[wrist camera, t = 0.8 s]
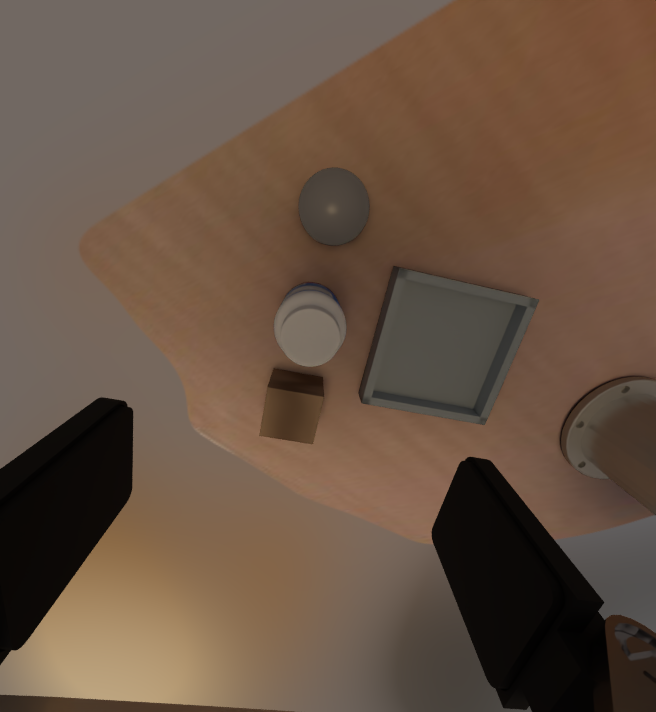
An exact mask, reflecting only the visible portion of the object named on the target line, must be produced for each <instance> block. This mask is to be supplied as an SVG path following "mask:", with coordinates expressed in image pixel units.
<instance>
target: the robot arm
mask: <svg viewBox="0 0 656 712" xmlns="http://www.w3.org/2000/svg"><path fill="white" fill-rule="evenodd" d="M561 447H562V451H563V454H564V456H565V458H566V459H567V461H568V462H569V463H570V464H571V465H572V466H573V467H574V468H575V469H576V470H578V471H579V472H581V473H582V474H584V475H586V476H589V477H592V478H598V479H611V480H612V481H614V482H615V483H616V484H617V485H619V486H620V487H621V488H622V489H624V490H625V491H626V492H627V493H629V494H630V495H631V496H632V497H634V498H635V499H636V500H637V501H639V502H640V503H641V504H642V505H643V506H645V507H646V508H647V509H648V510H650V511H651V512H652V513H653V514H655V515H656V380H655V379H652V378H647V377H627V378H621V379H618V380H615V381H612V382H609V383H607V384H605V385H603V386H601V387H599V388H597V389H596V390H594V391H593V392H591V393H590V394H588V395H587V396H586V397H585V398H584V399H583V400H581V401H580V402H579V403H578V404H577V406H576V407H575V408H574V409H573V411H572V412H571V413H570V415H569V417H568V419H567V420H566V422H565V425H564V428H563V431H562V437H561ZM132 464H133V410H132V408H130V407H127V403H126V402H125V401H121V400H115V399H109V398H98V399H96V400H95V401H94V402H92V403H91V404H90V405H88V406H87V407H85V408H84V409H83V410H81V411H80V412H79V413H77V414H76V415H74V416H73V417H72V418H70V419H69V420H67V421H66V422H65V423H64V424H62V425H61V426H59V427H58V428H57V429H55V430H54V431H52V432H51V433H50V434H48V435H47V436H45V437H44V438H43V439H41V440H40V441H38V442H37V443H36V444H34V445H33V446H32V447H30V448H29V449H27V450H26V451H25V452H23V453H22V454H21V455H19V456H18V457H17V458H15V459H14V460H12V461H11V462H10V463H8V464H7V465H5V466H4V467H3V468H1V469H0V665H1V663H2V662H3V661H4V659H5V658H6V657H7V655H8V654H9V652H10V651H11V650H18V649H19V648H21V647H22V646H23V645H24V643H25V642H26V641H27V640H28V638H29V637H30V636H31V634H32V633H33V632H34V630H35V629H36V628H37V626H38V625H39V623H40V622H41V621H42V619H43V618H44V616H45V615H46V614H47V612H48V611H49V609H50V608H51V607H52V605H53V604H54V603H55V601H56V600H57V598H58V597H59V596H60V594H61V593H62V591H63V590H64V589H65V587H66V586H67V585H68V583H69V582H70V580H71V579H72V578H73V576H74V575H75V573H76V572H77V571H78V569H79V568H80V566H81V565H82V564H83V562H84V561H85V559H86V558H87V556H88V555H89V554H90V553H91V551H92V550H93V548H94V547H95V546H96V544H97V543H98V541H99V540H100V539H101V537H102V536H103V535H104V533H105V532H106V530H107V529H108V528H109V526H110V525H111V523H112V522H113V521H114V519H115V518H116V516H117V515H118V513H119V512H120V511H121V509H122V508H123V507H124V505H125V504H126V503H127V501H128V499H129V497H130V494H131V491H132V467H133V465H132ZM432 540H433V543H434V546H435V548H436V550H437V554H438V556H439V559H440V561H441V563H442V566H443V569H444V571H445V574H446V576H447V579H448V581H449V584H450V587H451V589H452V591H453V594H454V597H455V599H456V602H457V604H458V607H459V610H460V612H461V615H462V617H463V620H464V622H465V625H466V627H467V630H468V632H469V635H470V637H471V640H472V643H473V645H474V647H475V650H476V653H477V655H478V658H479V660H480V663H481V665H482V668H483V670H484V673H485V676H486V678H487V680H488V682H489V683H490V685H491V686H492V687H494V688H496V691H497V693H498V696H499V698H500V701H501V703H502V706H503V708H510V709H523V710H526V709H527V708H528V707H529V706H530V708H531V710H532V712H656V633H654V632H653V631H652V630H650V629H649V628H647V627H646V626H644V625H642V624H641V623H639V622H637V621H635V620H633V619H631V618H628V617H625V616H622V615H611V616H609V617H608V618H607V619H606V620H604V619H603V618H602V616H601V615H600V614H599V612H598V611H599V609H600V608H601V606H602V605H603V604H604V601H603V600H602V599H601V598H600V596H599V595H598V594H597V593H596V592H595V590H594V589H593V588H592V586H591V585H590V584H589V583H588V581H587V580H586V579H585V578H584V577H583V575H582V574H581V573H580V572H579V570H578V569H577V568H576V567H575V565H574V564H573V563H572V562H571V560H570V559H569V558H568V557H567V555H566V554H565V553H564V552H563V550H562V549H561V548H560V547H559V545H558V544H557V543H556V542H555V540H554V539H553V538H552V537H551V535H550V534H549V533H548V532H547V530H546V529H545V528H544V527H543V525H542V524H541V523H540V522H539V520H538V519H537V518H536V517H535V515H534V514H533V513H532V512H531V510H530V509H529V508H528V507H527V505H526V504H525V503H524V502H523V500H522V499H521V498H520V497H519V495H518V494H517V493H516V492H515V490H514V489H513V488H512V487H511V485H510V484H509V483H508V482H507V480H506V479H505V478H504V477H503V475H502V474H501V473H500V472H499V470H498V469H497V468H496V467H495V465H494V464H493V463H492V462H491V461H490V460H487V459H481V458H475V457H468V458H467V459H466V460H465V461H462V462H460V464H459V466H458V468H457V471H456V473H455V475H454V478H453V480H452V483H451V485H450V487H449V490H448V492H447V494H446V497H445V499H444V502H443V504H442V506H441V509H440V511H439V513H438V516H437V518H436V521H435V523H434V525H433V528H432ZM0 712H292V711H277V710H261V709H246V708H231V707H230V708H229V707H214V706H198V705H197V706H196V705H181V704H165V703H148V702H130V701H114V700H96V699H79V698H63V697H42V696H15V695H0Z"/></svg>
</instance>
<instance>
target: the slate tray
mask: <svg viewBox="0 0 656 712" xmlns="http://www.w3.org/2000/svg"><path fill="white" fill-rule="evenodd" d="M538 302H539V300H538V299H534V298H530V297H527V296H523V295H518V294H514V293H510V292H505V291H501V290H496V289H492V288H488V287H483V286H479V285H475V284H470V283H466V282H461V281H457V280H453V279H448V278H444V277H440V276H435V275H431V274H426V273H422V272H418V271H413V270H409V269H405V268H400V267H396V266H393V270H392V273H391V277H390V281H389V284H388V288H387V291H386V295H385V299H384V302H383V306H382V310H381V313H380V317H379V320H378V324H377V328H376V331H375V335H374V339H373V342H372V346H371V349H370V353H369V357H368V360H367V364H366V368H365V371H364V375H363V378H362V382H361V386H360V389H359V397H360V400H361V403H363V404H369V405H374V406H380V407H386V408H391V409H397V410H403V411H408V412H414V413H420V414H425V415H431V416H437V417H442V418H448V419H454V420H459V421H465V422H471V423H476V424H482V425H485V423H486V421H487V419H488V416H489V414H490V412H491V410H492V407H493V405H494V403H495V400H496V398H497V396H498V393H499V391H500V389H501V387H502V384H503V382H504V380H505V377H506V375H507V373H508V371H509V368H510V366H511V364H512V361H513V359H514V357H515V355H516V352H517V350H518V348H519V345H520V343H521V341H522V339H523V336H524V334H525V332H526V329H527V327H528V325H529V323H530V320H531V318H532V316H533V313H534V311H535V309H536V306H537V304H538Z"/></svg>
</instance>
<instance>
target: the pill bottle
mask: <svg viewBox="0 0 656 712" xmlns="http://www.w3.org/2000/svg"><path fill="white" fill-rule="evenodd" d="M274 334H275V338H276V340H277V343H278V345H279V346H280V348H281V349H282V350H283V351H284V353H285V354H286V356H287V357H288V358H289V359H290V360H292V361H293V362H295V363H296V364H299V365H301V366H306V367H315V366H319V365H322V364H324V363H326V362H328V361H329V360H330V359H331V358H332V357H333V356H334V355H335V354H336V352H337V351H338V350H339V348H340V347H341V345H342V344H343V342H344V339H345V336H346V319H345V316H344V313H343V311H342V309H341V307H340V304H339V302H338V300H337V298H336V296H335V295H334V294H333V292H332V291H331V290H329V289H328V288H327V287H325V286H323V285H321V284H318V283H313V282H307V283H302V284H299V285H297V286H295V287H294V288H292V289H291V290H290V291H289V292H288V294H287V295H286V296H285V298H284V300H283V302H282V304H281V306H280V307H279V309H278V311H277V313H276V316H275V320H274Z"/></svg>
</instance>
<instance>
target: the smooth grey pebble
mask: <svg viewBox="0 0 656 712" xmlns="http://www.w3.org/2000/svg"><path fill="white" fill-rule="evenodd" d="M299 215H300V219H301V222H302V224H303V226H304V228H305V230H306V231H307V232H308V234H309V235H310V236H311V237H312V238H313V239H314V240H316V241H318V242H320V243H323V244H326V245H342V244H345V243H347V242H349V241H351V240H353V239H354V238H355V237H357V236H358V235H359V233H360V232H361V231H362V230H363V228H364V226H365V224H366V222H367V219H368V215H369V198H368V194H367V191H366V189H365V187H364V185H363V183H362V182H361V181H360V180H359V178H358V177H357V176H355V175H354V174H353V173H351V172H349V171H347V170H345V169H342V168H327V169H323V170H321V171H319V172H317V173H315V174H314V175H313V176H312V177H311V178H310V179H309V180H308V181H307V182H306V184H305V185H304V187H303V189H302V192H301V194H300V199H299Z"/></svg>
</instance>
